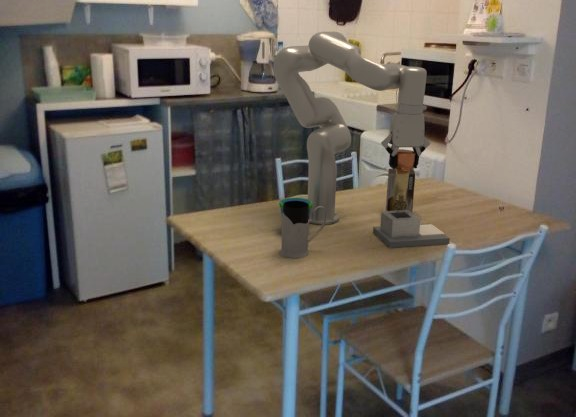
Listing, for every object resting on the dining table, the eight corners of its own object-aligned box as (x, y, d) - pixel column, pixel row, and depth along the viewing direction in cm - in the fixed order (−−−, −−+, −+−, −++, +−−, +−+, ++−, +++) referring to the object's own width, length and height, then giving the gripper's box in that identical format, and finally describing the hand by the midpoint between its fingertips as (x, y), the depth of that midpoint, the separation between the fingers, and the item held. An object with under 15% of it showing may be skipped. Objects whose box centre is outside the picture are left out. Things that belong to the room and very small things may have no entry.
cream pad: (421, 236, 194) (421, 235, 194) (409, 227, 203) (409, 225, 202) (444, 235, 196) (444, 233, 196) (431, 225, 205) (431, 224, 204)
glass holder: (275, 248, 187) (276, 201, 182) (319, 244, 192) (321, 197, 187) (285, 259, 179) (287, 210, 174) (330, 254, 184) (333, 206, 179)
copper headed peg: (404, 195, 198) (410, 149, 193) (413, 201, 192) (419, 154, 187) (386, 195, 196) (391, 149, 192) (394, 202, 190) (399, 154, 186)
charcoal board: (389, 248, 190) (390, 241, 189) (372, 232, 203) (373, 226, 202) (449, 244, 195) (449, 238, 194) (428, 229, 208) (429, 223, 207)
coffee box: (410, 212, 224) (414, 169, 219) (412, 218, 218) (416, 173, 213) (384, 211, 225) (388, 167, 220) (385, 216, 219) (389, 172, 214)
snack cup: (273, 224, 207) (274, 195, 204) (304, 223, 210) (305, 194, 207) (285, 241, 193) (285, 210, 190) (317, 239, 196) (318, 208, 192)
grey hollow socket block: (391, 238, 192) (392, 220, 190) (380, 228, 200) (381, 211, 198) (418, 237, 194) (420, 219, 192) (406, 227, 203) (408, 209, 201)
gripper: (430, 107, 191) (423, 164, 197) (377, 107, 187) (372, 164, 192) (441, 111, 184) (434, 170, 190) (387, 111, 180) (381, 171, 185)
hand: (403, 167), depth 191 cm, fingers closed on copper headed peg, 6 cm apart
